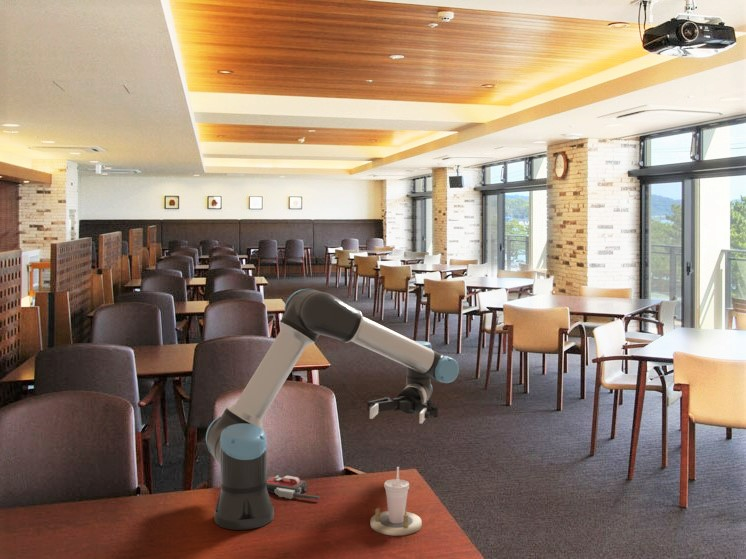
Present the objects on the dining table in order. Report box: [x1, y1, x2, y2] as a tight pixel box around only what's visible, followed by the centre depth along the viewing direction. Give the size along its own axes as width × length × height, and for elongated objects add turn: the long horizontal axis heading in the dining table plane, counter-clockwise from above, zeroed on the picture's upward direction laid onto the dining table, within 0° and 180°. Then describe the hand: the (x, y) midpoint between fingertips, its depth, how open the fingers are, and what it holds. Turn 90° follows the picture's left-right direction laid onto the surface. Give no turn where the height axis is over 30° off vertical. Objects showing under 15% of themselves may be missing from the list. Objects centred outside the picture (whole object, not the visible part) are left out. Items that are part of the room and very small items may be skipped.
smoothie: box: [383, 466, 410, 523], centre depth 180 cm, size 6×6×14 cm
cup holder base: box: [369, 502, 423, 537], centre depth 181 cm, size 13×13×4 cm
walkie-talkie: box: [267, 474, 320, 500], centre depth 202 cm, size 9×4×20 cm
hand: (395, 416), depth 190 cm, fingers open, 13 cm apart
